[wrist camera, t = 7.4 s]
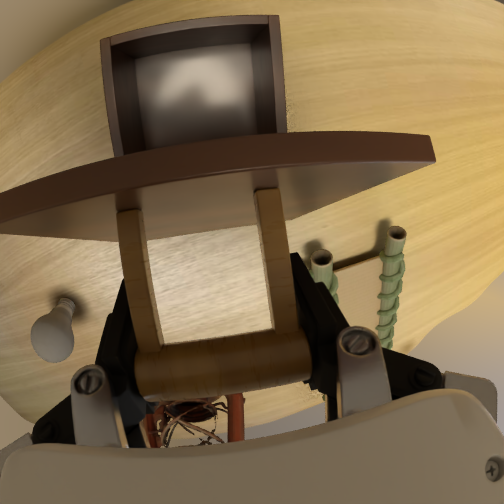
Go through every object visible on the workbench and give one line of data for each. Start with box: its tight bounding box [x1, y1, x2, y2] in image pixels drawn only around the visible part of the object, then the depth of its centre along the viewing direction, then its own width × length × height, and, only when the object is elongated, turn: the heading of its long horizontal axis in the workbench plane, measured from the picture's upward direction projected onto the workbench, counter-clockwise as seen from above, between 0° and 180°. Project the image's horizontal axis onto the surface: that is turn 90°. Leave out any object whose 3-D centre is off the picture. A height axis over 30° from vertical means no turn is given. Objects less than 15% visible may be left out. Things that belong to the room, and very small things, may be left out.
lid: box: [0, 131, 436, 402], centre depth 14 cm, size 16×13×7 cm
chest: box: [100, 15, 287, 157], centre depth 22 cm, size 16×13×9 cm
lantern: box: [143, 393, 245, 448], centre depth 31 cm, size 17×13×30 cm
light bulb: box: [31, 298, 75, 363], centre depth 29 cm, size 6×6×10 cm
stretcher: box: [309, 226, 406, 401], centre depth 44 cm, size 41×14×5 cm, turn 14°
